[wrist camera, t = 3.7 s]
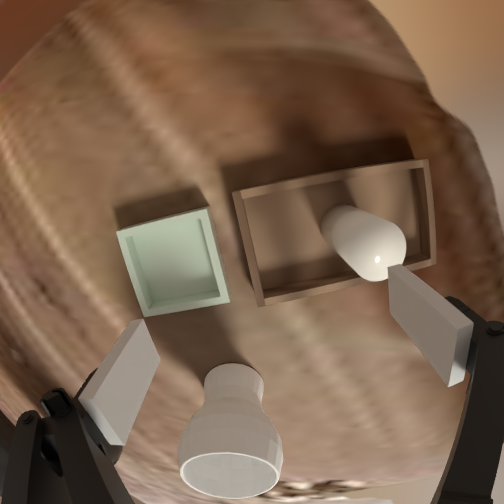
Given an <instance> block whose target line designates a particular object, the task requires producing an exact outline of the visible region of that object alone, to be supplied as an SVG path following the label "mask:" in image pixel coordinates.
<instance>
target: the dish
mask: <svg viewBox="0 0 504 504" xmlns="http://www.w3.org/2000/svg"><path fill="white" fill-rule="evenodd" d="M116 233H117V236H118V240H119V243H120V247H121V250H122V253H123V257H124V260H125V263H126V266H127V269H128V272H129V275H130V278H131V281H132V284H133V287H134V290H135V293H136V296H137V299H138V302H139V304H140V307H141V310H142V313H143V315H144V317H149V316H155V315H161V314H167V313H173V312H179V311H185V310H190V309H196V308H201V307H207V306H212V305H218V304H223V303H228V302H230V299H231V290H230V286H229V282H228V278H227V274H226V270H225V266H224V262H223V258H222V254H221V250H220V246H219V242H218V238H217V234H216V230H215V226H214V221H213V217H212V213H211V209H210V206H206V207H202V208H198V209H194V210H189V211H185V212H181V213H177V214H173V215H169V216H165V217H161V218H157V219H153V220H150V221H146V222H142V223H138V224H135V225H131V226H127V227H124V228H122V229H120V230H119V231H117V232H116Z"/></svg>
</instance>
